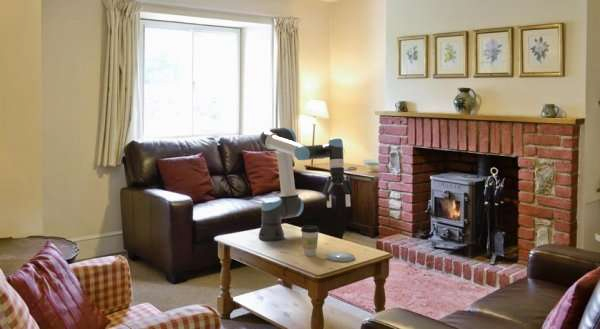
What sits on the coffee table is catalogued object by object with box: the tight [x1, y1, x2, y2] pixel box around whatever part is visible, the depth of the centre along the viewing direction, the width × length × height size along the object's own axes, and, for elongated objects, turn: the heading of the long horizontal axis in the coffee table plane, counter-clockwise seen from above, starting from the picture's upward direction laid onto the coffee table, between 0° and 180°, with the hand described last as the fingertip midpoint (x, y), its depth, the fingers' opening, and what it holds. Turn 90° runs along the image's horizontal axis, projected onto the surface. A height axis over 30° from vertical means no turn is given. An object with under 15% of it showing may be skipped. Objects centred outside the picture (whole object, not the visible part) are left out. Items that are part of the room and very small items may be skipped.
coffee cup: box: [300, 224, 320, 257], centre depth 310 cm, size 10×10×15 cm
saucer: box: [327, 251, 355, 263], centre depth 304 cm, size 14×14×1 cm
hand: (338, 207), depth 311 cm, fingers open, 13 cm apart
